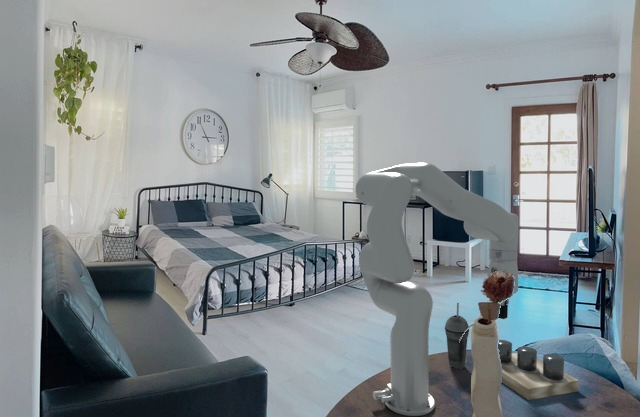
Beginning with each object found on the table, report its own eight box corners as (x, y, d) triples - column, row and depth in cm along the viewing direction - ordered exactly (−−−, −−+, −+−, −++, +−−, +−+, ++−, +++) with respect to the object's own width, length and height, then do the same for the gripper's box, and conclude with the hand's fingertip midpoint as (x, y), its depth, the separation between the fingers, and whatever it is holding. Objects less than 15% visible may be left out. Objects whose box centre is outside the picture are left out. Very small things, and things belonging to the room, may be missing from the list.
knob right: (552, 381, 115) (553, 362, 115) (538, 372, 120) (539, 355, 120) (568, 378, 117) (568, 360, 116) (553, 370, 121) (554, 353, 121)
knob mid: (525, 372, 121) (526, 354, 120) (513, 364, 126) (513, 347, 125) (540, 369, 122) (541, 352, 122) (527, 362, 127) (528, 345, 127)
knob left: (500, 363, 126) (501, 347, 126) (490, 357, 131) (490, 340, 131) (515, 361, 128) (515, 345, 127) (504, 354, 132) (504, 339, 132)
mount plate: (528, 400, 112) (528, 388, 112) (480, 367, 132) (480, 357, 131) (578, 391, 117) (578, 379, 116) (525, 360, 136) (525, 351, 136)
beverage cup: (466, 360, 137) (466, 298, 135) (471, 371, 130) (472, 305, 128) (442, 360, 138) (442, 298, 136) (446, 370, 130) (447, 305, 129)
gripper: (503, 260, 118) (500, 326, 119) (527, 254, 128) (525, 315, 129) (477, 256, 124) (475, 319, 125) (502, 251, 133) (500, 310, 134)
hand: (500, 317), depth 127 cm, fingers closed
